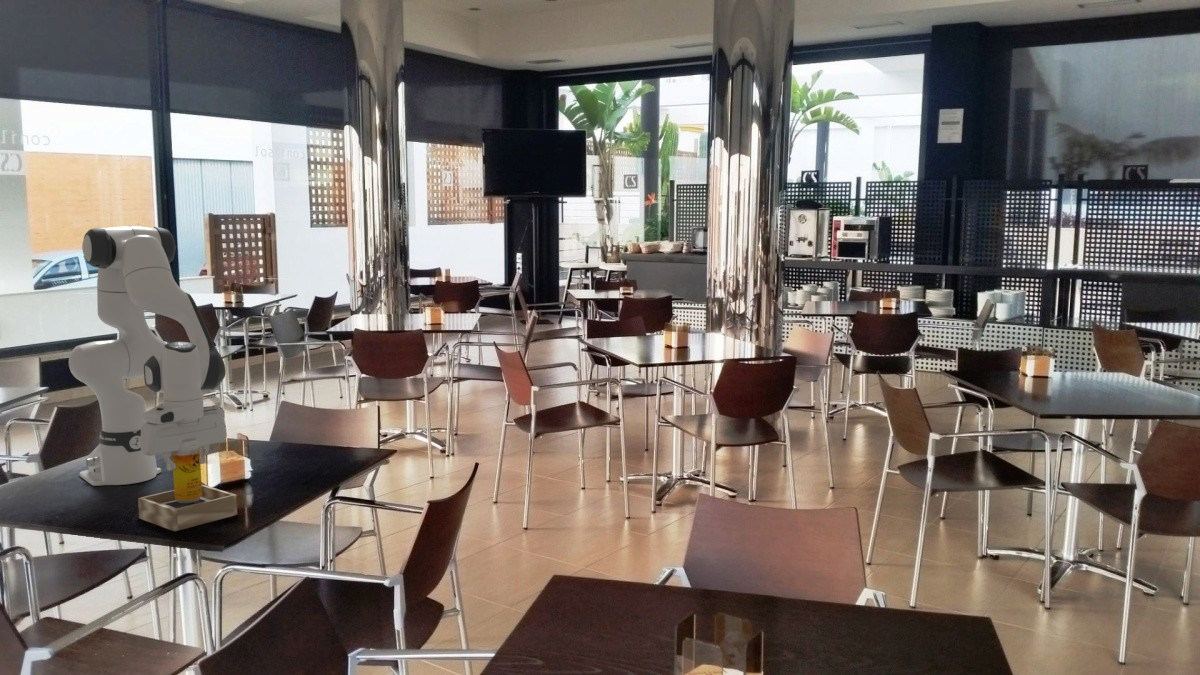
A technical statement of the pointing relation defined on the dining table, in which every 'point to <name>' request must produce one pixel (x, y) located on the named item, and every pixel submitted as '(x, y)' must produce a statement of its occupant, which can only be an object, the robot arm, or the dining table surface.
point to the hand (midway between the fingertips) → (186, 466)
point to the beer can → (187, 472)
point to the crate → (187, 508)
